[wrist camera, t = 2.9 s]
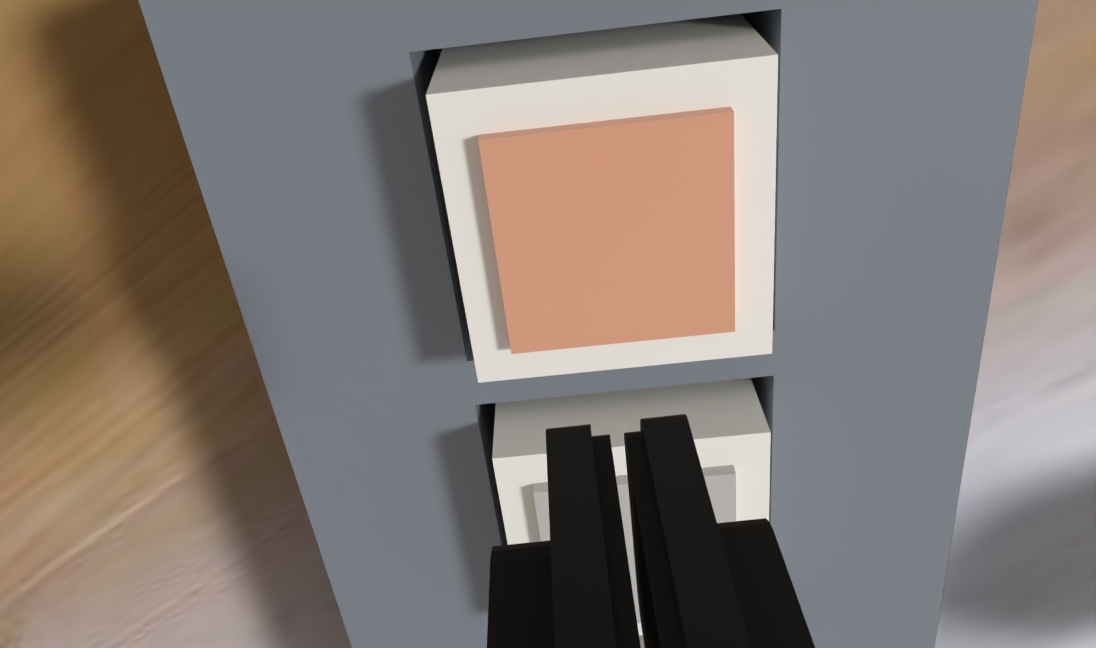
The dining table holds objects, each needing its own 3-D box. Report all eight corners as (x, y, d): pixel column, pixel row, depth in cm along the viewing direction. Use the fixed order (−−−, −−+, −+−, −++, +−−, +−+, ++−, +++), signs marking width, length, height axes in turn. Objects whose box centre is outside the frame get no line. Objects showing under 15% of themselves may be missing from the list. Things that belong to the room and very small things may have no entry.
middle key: (498, 364, 23) (491, 467, 19) (736, 341, 22) (773, 440, 19) (527, 539, 26) (526, 655, 22) (737, 520, 25) (769, 634, 22)
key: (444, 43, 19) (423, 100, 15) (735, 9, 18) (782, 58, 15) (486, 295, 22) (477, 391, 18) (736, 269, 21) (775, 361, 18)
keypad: (220, -51, 20) (134, -10, 16) (942, -140, 19) (1057, -122, 15) (427, 694, 33) (411, 828, 29) (861, 658, 33) (911, 790, 28)
